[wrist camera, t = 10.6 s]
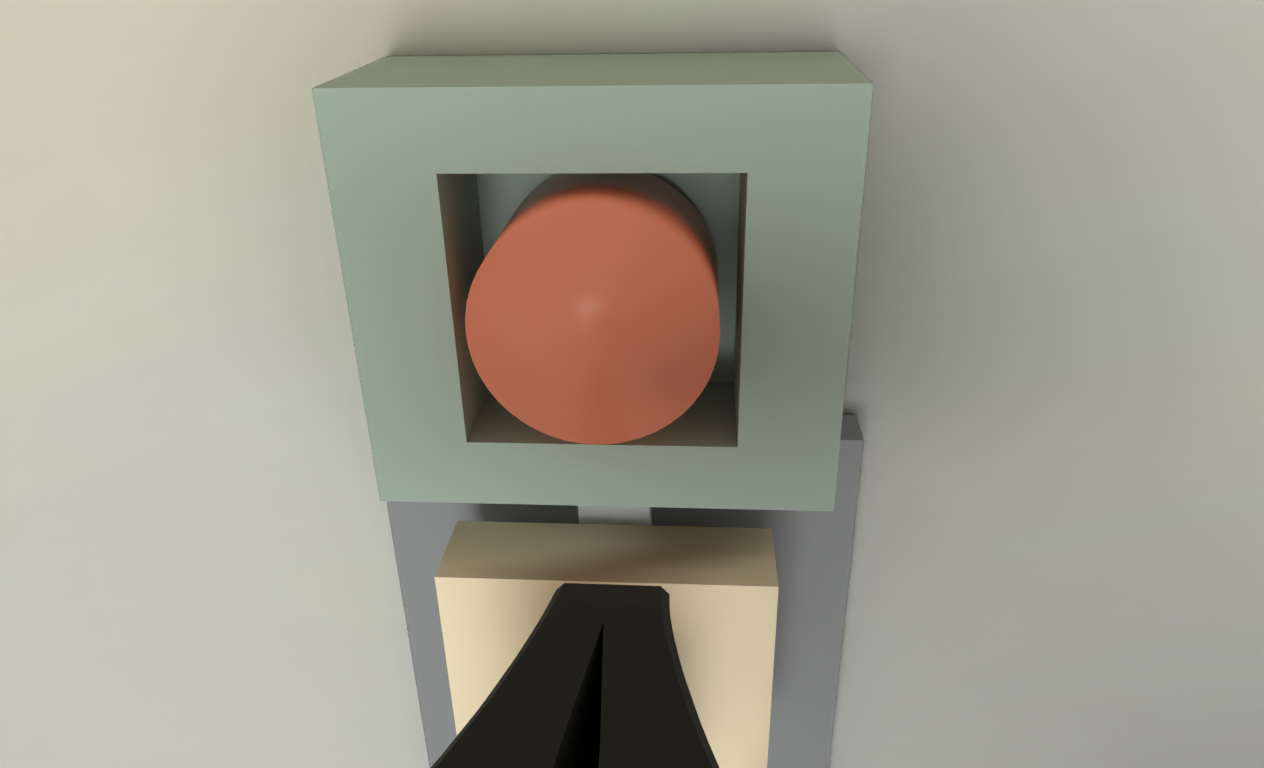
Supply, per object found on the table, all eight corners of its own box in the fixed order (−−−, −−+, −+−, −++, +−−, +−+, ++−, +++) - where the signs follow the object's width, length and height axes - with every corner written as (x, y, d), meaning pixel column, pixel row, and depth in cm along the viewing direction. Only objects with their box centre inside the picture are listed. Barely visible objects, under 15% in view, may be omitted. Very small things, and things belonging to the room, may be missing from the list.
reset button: (720, 164, 18) (723, 208, 15) (715, 374, 20) (717, 447, 17) (489, 165, 18) (452, 208, 15) (507, 371, 20) (477, 442, 17)
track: (855, 414, 22) (869, 459, 20) (805, 913, 30) (812, 977, 28) (390, 407, 22) (364, 449, 21) (464, 895, 30) (450, 956, 29)
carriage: (772, 528, 20) (796, 744, 15) (760, 728, 23) (777, 973, 18) (457, 520, 21) (372, 728, 16) (481, 718, 24) (416, 952, 18)
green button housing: (839, 51, 18) (873, 83, 15) (812, 413, 22) (833, 511, 18) (386, 56, 19) (311, 88, 15) (432, 407, 22) (380, 500, 19)
